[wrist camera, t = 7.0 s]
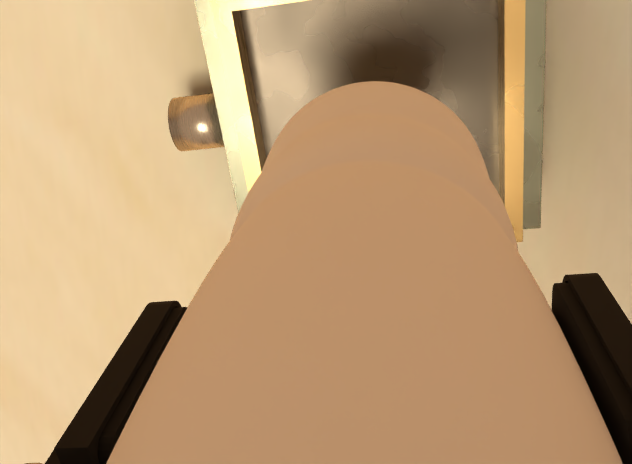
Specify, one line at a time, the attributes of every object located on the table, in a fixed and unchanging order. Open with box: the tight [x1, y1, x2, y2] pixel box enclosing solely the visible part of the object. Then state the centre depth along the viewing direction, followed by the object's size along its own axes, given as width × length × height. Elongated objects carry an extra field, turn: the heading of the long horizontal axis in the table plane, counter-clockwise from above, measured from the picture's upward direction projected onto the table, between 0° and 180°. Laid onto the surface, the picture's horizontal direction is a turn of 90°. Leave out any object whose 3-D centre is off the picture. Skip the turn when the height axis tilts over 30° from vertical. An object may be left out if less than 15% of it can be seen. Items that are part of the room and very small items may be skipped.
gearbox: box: [168, 0, 546, 242], centre depth 29 cm, size 18×14×7 cm
